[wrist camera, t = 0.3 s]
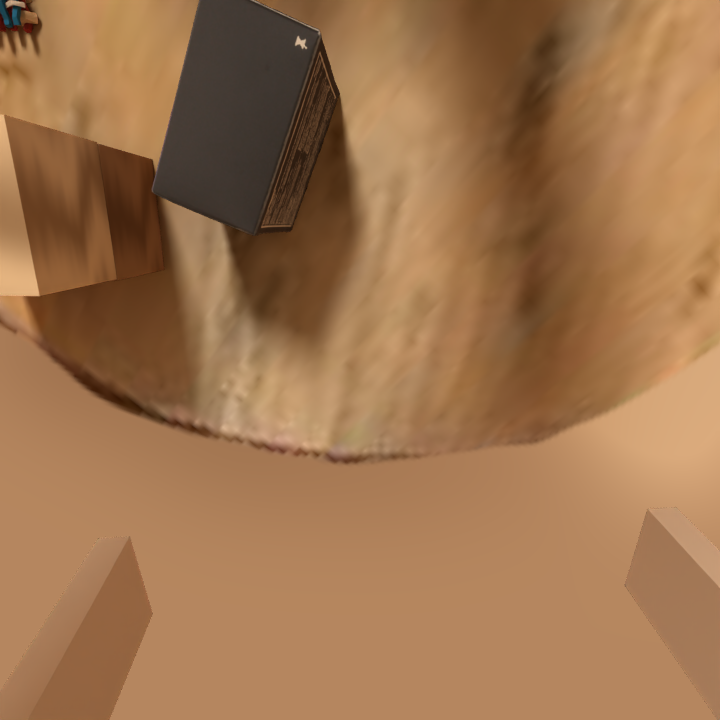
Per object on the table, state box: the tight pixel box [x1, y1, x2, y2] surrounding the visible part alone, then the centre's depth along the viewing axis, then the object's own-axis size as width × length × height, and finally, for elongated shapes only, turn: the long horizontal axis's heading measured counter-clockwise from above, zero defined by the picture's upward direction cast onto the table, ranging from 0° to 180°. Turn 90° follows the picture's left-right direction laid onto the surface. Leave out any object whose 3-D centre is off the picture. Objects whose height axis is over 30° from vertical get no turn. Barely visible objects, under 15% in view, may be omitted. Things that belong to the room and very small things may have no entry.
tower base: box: [97, 144, 164, 280], centre depth 31 cm, size 8×12×7 cm, turn 89°
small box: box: [152, 0, 340, 236], centre depth 28 cm, size 11×6×10 cm, turn 158°
